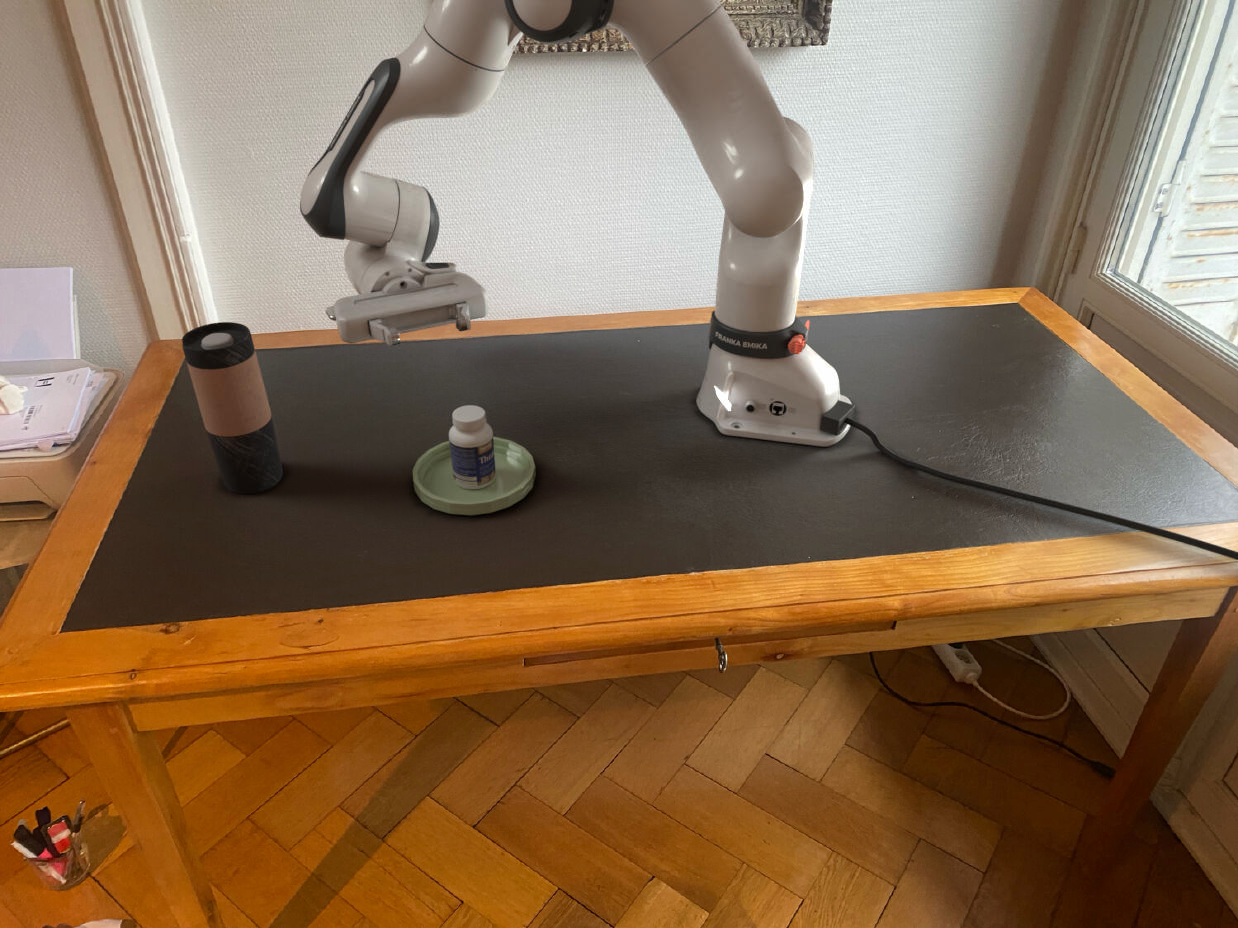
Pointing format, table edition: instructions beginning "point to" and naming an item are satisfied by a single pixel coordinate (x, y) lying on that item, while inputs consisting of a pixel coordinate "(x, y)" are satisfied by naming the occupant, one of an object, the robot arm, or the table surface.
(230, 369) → the travel mug
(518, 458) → the dish
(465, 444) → the pill bottle
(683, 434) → the table surface
